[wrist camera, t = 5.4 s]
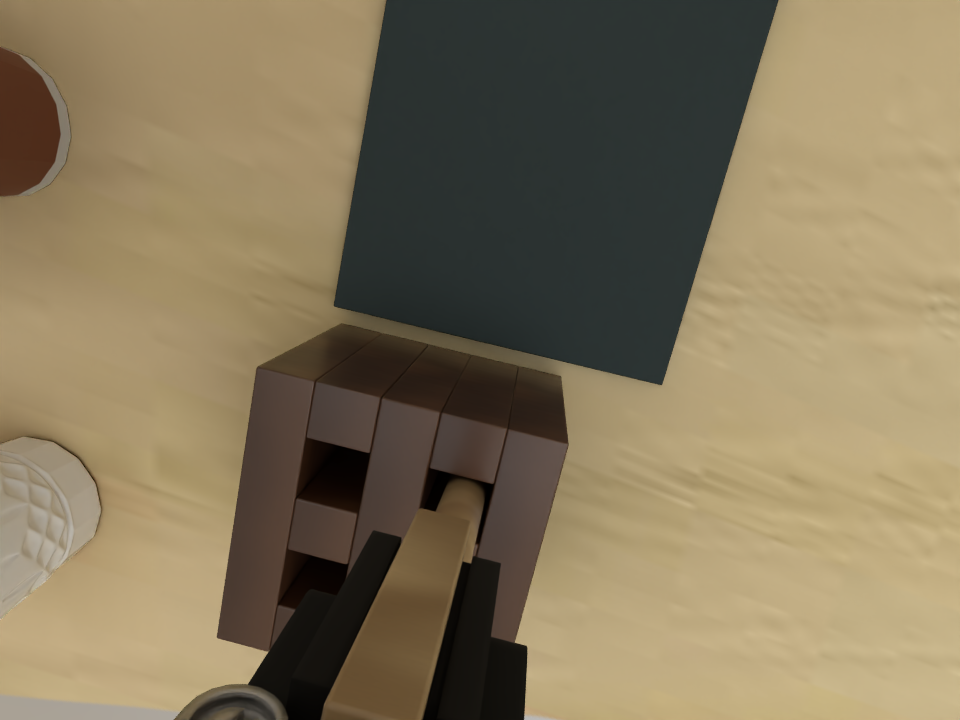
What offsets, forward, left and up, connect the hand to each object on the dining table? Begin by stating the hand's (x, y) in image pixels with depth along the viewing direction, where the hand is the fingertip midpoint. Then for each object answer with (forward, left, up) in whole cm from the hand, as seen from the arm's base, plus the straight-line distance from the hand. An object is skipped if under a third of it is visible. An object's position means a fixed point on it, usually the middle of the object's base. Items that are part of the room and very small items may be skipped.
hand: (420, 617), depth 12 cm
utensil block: (+2, +4, -18) cm, 19 cm away
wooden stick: (0, +2, -15) cm, 15 cm away
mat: (0, -14, -18) cm, 23 cm away
